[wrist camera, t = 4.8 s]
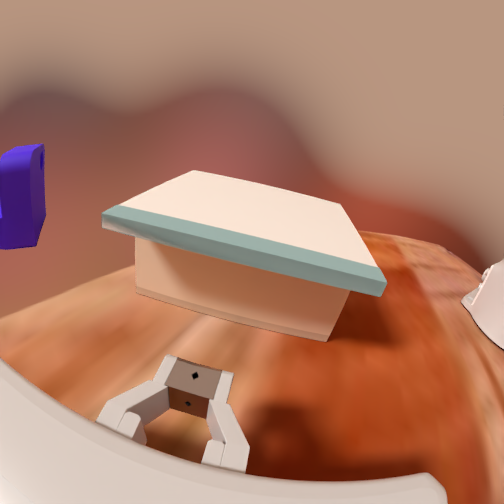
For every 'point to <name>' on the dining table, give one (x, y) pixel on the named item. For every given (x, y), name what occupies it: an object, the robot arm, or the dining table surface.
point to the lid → (252, 229)
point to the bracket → (22, 196)
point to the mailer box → (237, 291)
